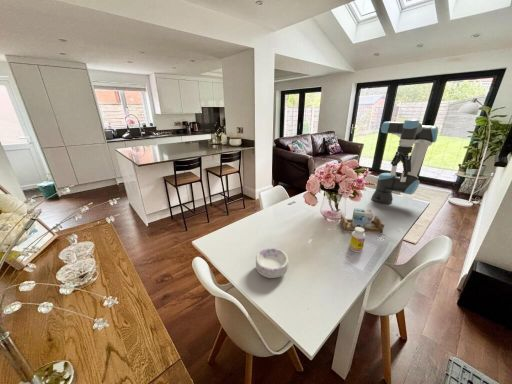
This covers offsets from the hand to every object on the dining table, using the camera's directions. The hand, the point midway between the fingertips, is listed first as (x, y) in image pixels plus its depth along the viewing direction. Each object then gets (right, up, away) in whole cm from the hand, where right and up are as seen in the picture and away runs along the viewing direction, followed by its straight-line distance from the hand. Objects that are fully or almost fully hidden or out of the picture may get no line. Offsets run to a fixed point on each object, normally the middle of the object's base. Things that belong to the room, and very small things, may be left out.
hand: (397, 178), depth 138 cm
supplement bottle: (-39, -41, -23) cm, 61 cm away
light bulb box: (-26, -31, -2) cm, 40 cm away
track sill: (-26, -32, -2) cm, 41 cm away
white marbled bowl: (-86, -47, -38) cm, 105 cm away
